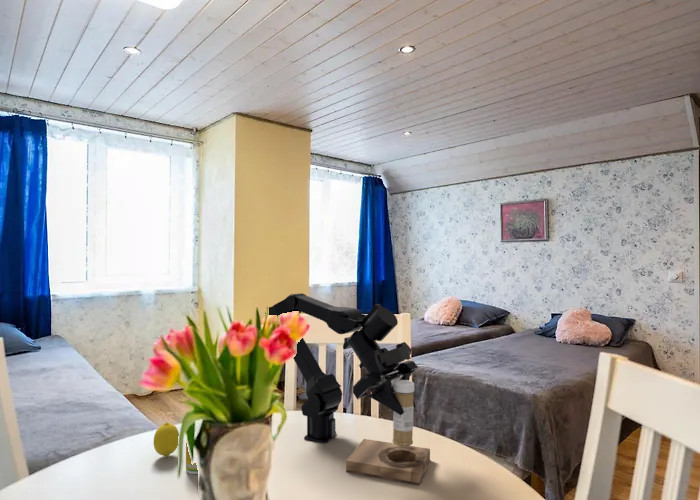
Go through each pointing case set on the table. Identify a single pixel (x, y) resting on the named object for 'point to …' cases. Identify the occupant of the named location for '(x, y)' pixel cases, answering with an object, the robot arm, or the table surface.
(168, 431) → the lemon
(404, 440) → the sprinkles bottle
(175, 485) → the table surface
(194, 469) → the supplement bottle
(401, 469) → the board
